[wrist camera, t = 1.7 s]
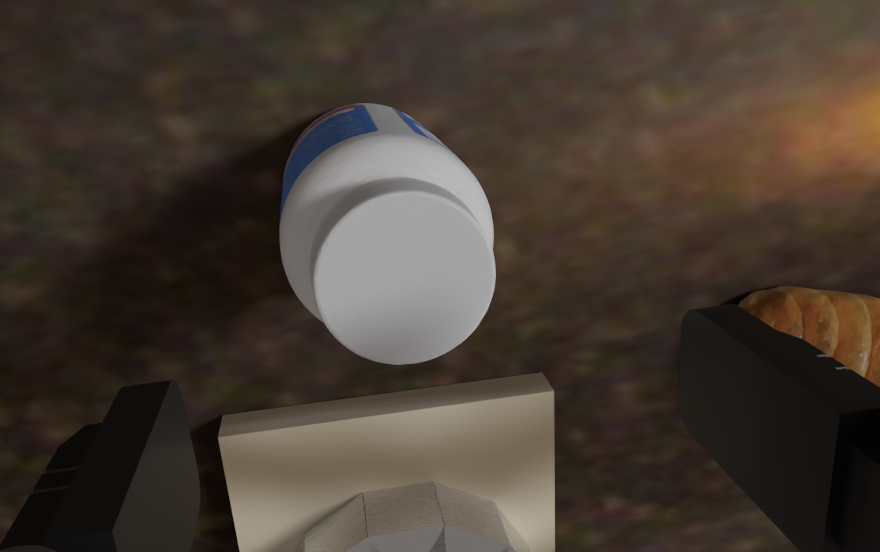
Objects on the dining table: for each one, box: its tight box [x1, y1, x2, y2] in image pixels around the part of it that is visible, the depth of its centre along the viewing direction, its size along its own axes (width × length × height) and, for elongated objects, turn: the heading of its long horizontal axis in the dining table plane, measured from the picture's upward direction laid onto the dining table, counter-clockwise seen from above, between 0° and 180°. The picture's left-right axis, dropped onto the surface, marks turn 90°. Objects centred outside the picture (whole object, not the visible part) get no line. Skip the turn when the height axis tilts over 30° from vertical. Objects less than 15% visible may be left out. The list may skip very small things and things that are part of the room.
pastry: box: [738, 286, 880, 387], centre depth 28 cm, size 9×7×4 cm
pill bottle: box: [279, 103, 496, 365], centre depth 20 cm, size 6×5×10 cm
